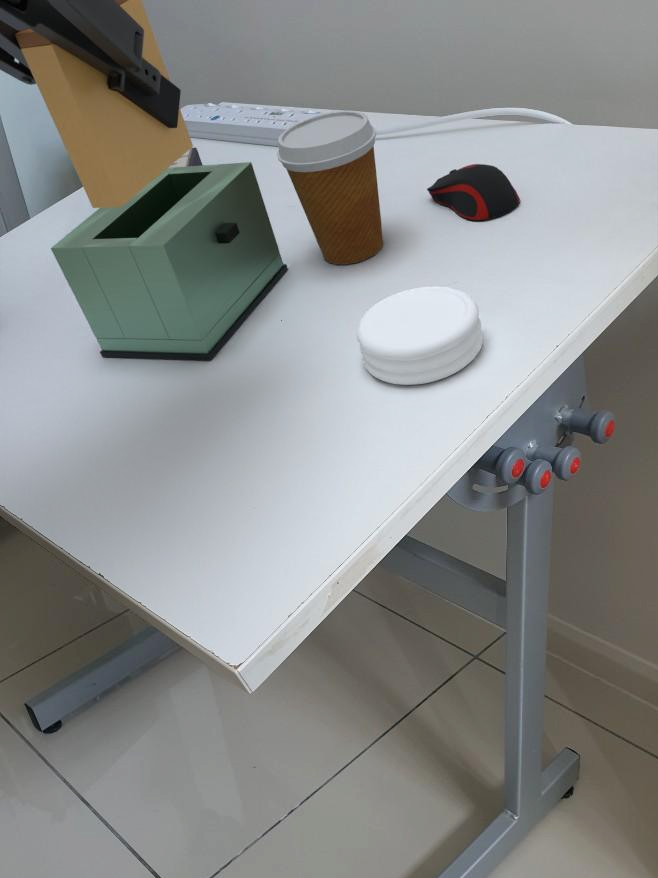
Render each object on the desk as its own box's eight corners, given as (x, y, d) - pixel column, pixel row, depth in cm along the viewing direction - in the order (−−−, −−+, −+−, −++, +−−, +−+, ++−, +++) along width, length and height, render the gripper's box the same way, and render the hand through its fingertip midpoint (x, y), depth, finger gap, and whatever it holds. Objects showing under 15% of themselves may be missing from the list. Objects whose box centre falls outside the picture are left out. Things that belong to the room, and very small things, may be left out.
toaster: (102, 357, 83) (47, 249, 75) (187, 270, 93) (146, 168, 86) (220, 361, 78) (173, 246, 70) (296, 269, 88) (263, 160, 81)
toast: (92, 208, 61) (13, 34, 53) (166, 148, 67) (105, -15, 59) (121, 207, 60) (45, 29, 52) (193, 146, 66) (134, -20, 58)
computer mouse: (469, 178, 96) (464, 141, 93) (531, 202, 88) (527, 162, 86) (422, 200, 94) (415, 163, 91) (481, 226, 87) (475, 187, 84)
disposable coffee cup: (359, 279, 84) (327, 153, 76) (289, 266, 89) (252, 147, 81) (417, 233, 88) (393, 110, 80) (348, 223, 94) (318, 106, 86)
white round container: (424, 309, 77) (417, 273, 75) (508, 339, 71) (503, 300, 69) (340, 365, 73) (330, 329, 71) (422, 402, 67) (413, 363, 65)
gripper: (-266, -15, 45) (69, 167, 67) (-47, -59, 39) (242, 157, 61) (-255, -164, 45) (78, 68, 66) (-33, -231, 39) (252, 47, 61)
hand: (156, 110), depth 64 cm, fingers closed on toast, 2 cm apart
